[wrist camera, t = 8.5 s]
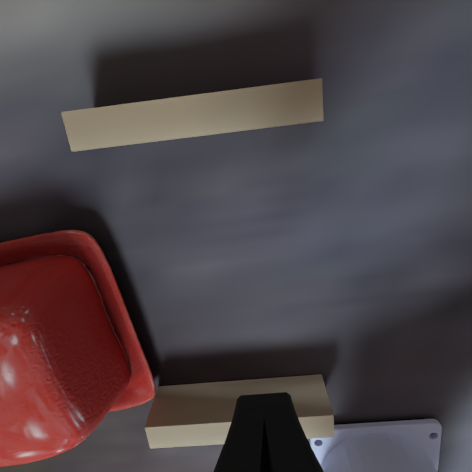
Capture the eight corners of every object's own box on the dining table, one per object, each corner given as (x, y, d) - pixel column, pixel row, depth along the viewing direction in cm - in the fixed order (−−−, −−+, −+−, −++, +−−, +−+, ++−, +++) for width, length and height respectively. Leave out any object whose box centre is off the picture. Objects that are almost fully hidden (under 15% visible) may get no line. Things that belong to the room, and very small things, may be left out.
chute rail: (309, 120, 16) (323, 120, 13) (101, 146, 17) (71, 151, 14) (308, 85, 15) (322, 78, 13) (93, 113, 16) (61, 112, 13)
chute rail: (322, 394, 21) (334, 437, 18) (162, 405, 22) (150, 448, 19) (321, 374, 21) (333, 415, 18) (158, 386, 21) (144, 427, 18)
